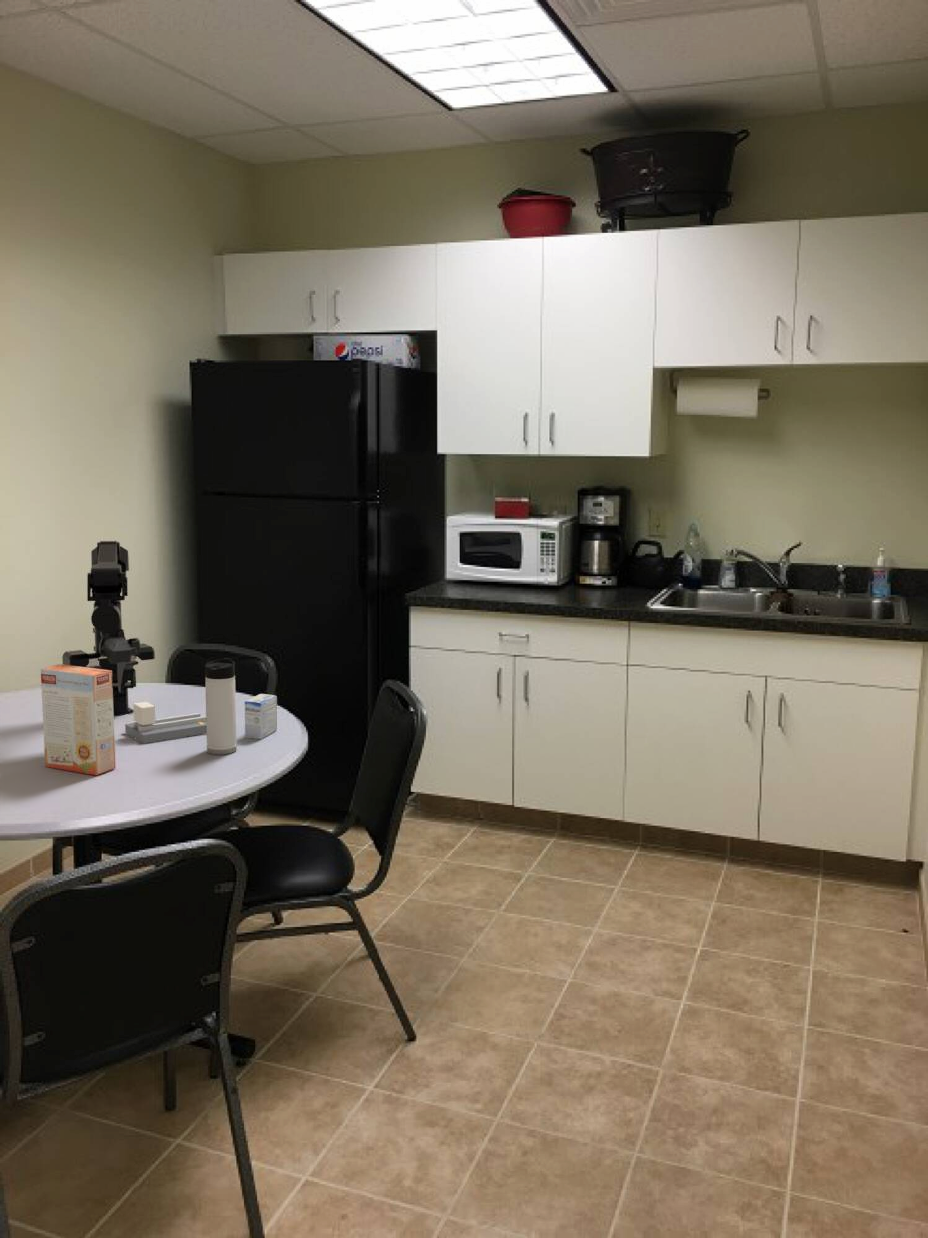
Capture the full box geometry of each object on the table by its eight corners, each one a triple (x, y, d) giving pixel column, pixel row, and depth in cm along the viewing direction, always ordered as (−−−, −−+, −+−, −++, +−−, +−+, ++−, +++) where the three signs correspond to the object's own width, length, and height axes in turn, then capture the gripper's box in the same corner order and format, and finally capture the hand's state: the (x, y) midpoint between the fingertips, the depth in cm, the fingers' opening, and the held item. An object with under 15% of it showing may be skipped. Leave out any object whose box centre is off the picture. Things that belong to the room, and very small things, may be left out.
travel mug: (242, 748, 236) (241, 659, 232) (226, 756, 230) (224, 665, 226) (217, 745, 238) (216, 656, 234) (201, 753, 232) (199, 662, 228)
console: (125, 732, 246) (125, 720, 246) (195, 721, 257) (194, 709, 256) (143, 744, 238) (143, 730, 237) (215, 732, 248) (214, 719, 247)
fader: (134, 726, 244) (133, 703, 243) (147, 724, 246) (146, 701, 245) (142, 731, 240) (141, 708, 239) (155, 729, 242) (154, 706, 241)
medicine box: (260, 729, 251) (259, 693, 250) (277, 731, 250) (277, 694, 249) (244, 738, 244) (243, 701, 242) (262, 740, 243) (261, 702, 241)
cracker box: (117, 769, 220) (113, 669, 216) (96, 777, 214) (91, 675, 211) (66, 759, 226) (61, 662, 222) (43, 767, 220) (38, 667, 217)
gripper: (77, 634, 223) (80, 707, 225) (163, 625, 234) (165, 695, 236) (60, 626, 231) (63, 696, 234) (144, 618, 243) (146, 685, 245)
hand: (110, 693), depth 237 cm, fingers open, 4 cm apart
